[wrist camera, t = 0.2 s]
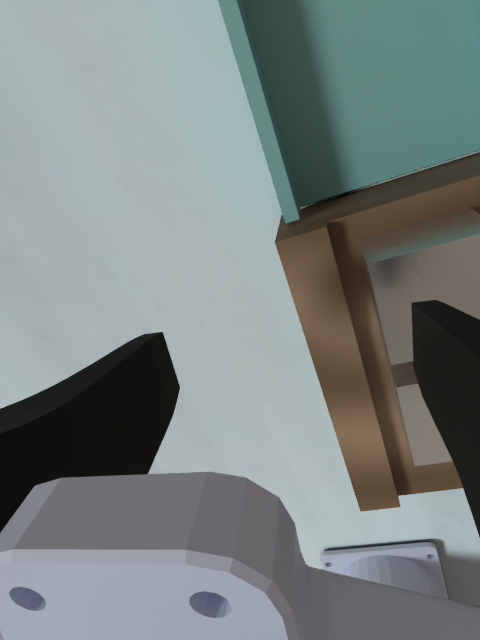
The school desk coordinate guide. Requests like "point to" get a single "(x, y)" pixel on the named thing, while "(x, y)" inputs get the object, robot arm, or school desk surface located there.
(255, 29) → the tray
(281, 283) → the school desk surface
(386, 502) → the channel block
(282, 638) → the robot arm
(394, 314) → the light grey block
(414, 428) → the grey square block
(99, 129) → the school desk surface
